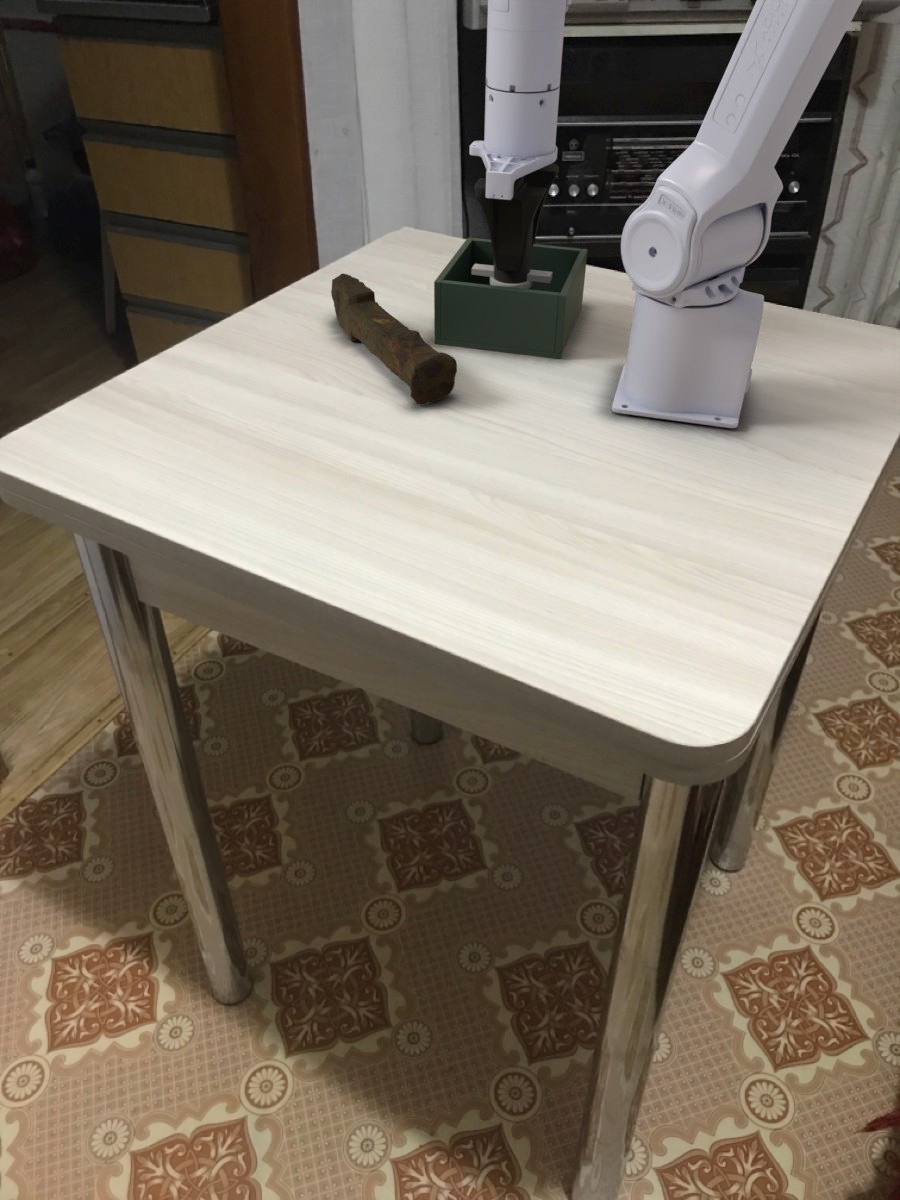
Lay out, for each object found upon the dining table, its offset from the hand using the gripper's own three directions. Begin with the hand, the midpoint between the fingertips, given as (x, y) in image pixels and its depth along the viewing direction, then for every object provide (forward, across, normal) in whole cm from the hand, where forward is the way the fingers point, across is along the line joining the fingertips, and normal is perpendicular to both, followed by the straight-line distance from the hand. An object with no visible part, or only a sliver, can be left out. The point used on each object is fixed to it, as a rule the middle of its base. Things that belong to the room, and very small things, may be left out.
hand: (513, 262), depth 79 cm
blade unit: (+2, 0, 0) cm, 2 cm away
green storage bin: (+6, 0, 0) cm, 6 cm away
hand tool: (+6, +10, -9) cm, 15 cm away
